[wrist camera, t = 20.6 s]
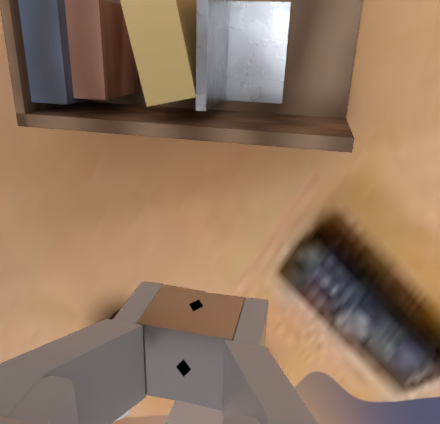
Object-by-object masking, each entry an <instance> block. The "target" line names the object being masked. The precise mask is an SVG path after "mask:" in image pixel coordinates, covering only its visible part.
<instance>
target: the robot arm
mask: <svg viewBox="0 0 440 424" xmlns="http://www.w3.org/2000/svg"><path fill="white" fill-rule="evenodd" d="M267 315H268V300H265V299H257V298H248V297H247V298H245V297H238V296H231V295H223V294H215V293H207V292H205V291H199V290H193V289H188V288H182V287H176V286H170V285H163V284H159V283H152V282H142V283H141V284H140V285H139V286H138V287H137V289H136V290H135V291H134V293H133V294H132V295H131V296H130V298H129V299H128V300H127V302H126V303H125V304H124V306H123V307H122V308H121V309H120V311H119V312H118V313H117V315H116V316H115V317H114V318H113V320H112V319H105V320H102V321H100V322H97V323H95V324H93V325H90V326H88V327H86V328H83V329H81V330H79V331H76V332H74V333H71V334H69V335H67V336H64V337H62V338H60V339H57V340H55V341H53V342H50V343H48V344H45V345H43V346H41V347H38V348H36V349H34V350H31V351H29V352H27V353H24V354H22V355H19V356H17V357H15V358H12V359H10V360H8V361H5V362H3V363H1V364H0V424H111V423H113V422H114V421H115V420H117V419H118V418H119V417H121V416H122V415H123V414H124V413H126V412H127V411H128V410H130V409H131V408H132V407H133V406H135V405H136V404H137V403H139V402H140V401H141V400H143V399H144V398H145V397H146V395H149V396H155V397H160V398H166V399H172V400H177V401H183V402H187V403H191V404H196V405H200V406H204V407H208V408H212V409H217V410H221V411H222V412H221V413H222V416H223V422H222V424H318V423H317V421H316V420H315V418H314V417H313V415H312V414H311V412H310V411H309V409H308V408H307V406H306V405H305V403H304V402H303V401H302V399H301V398H300V396H299V394H298V393H297V391H296V390H295V389H294V387H293V386H292V384H291V383H290V381H289V380H288V378H287V377H286V375H285V374H284V372H283V371H282V369H281V368H280V366H279V365H278V363H277V362H276V360H275V359H274V357H273V356H272V355H271V353H270V352H269V350H268V349H267V347H266V346H265V336H266V326H267Z"/></svg>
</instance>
